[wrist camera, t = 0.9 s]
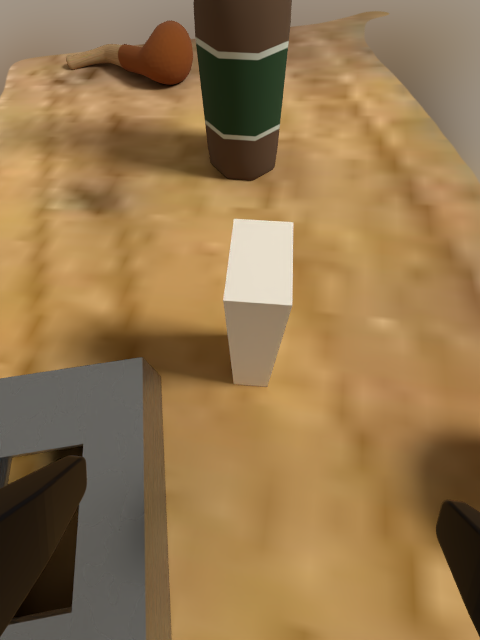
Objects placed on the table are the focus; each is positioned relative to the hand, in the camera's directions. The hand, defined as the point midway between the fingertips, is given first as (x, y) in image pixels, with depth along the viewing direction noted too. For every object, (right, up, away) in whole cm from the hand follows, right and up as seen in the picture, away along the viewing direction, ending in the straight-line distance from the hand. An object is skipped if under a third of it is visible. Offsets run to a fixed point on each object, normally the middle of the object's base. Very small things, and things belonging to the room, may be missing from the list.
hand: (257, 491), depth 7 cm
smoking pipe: (-15, +38, +34) cm, 53 cm away
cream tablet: (+1, +1, +15) cm, 15 cm away
